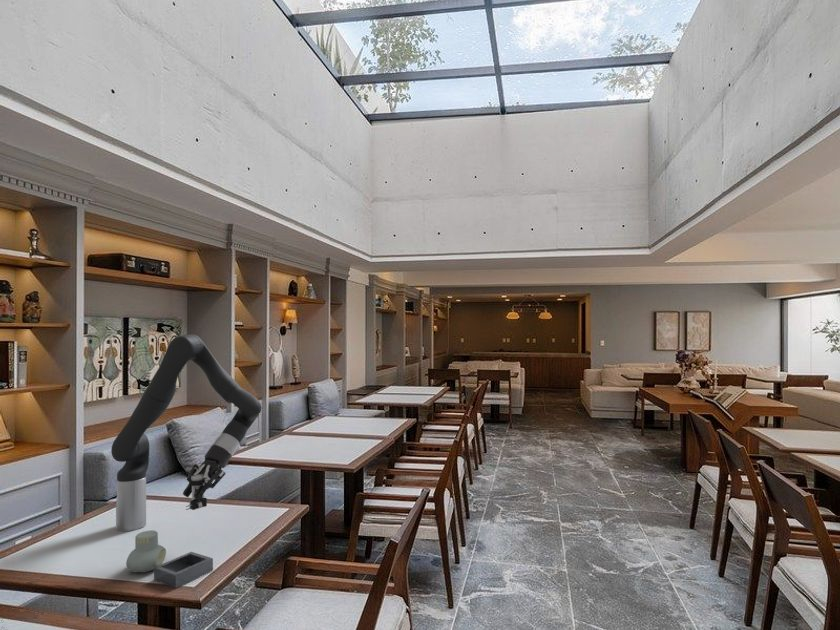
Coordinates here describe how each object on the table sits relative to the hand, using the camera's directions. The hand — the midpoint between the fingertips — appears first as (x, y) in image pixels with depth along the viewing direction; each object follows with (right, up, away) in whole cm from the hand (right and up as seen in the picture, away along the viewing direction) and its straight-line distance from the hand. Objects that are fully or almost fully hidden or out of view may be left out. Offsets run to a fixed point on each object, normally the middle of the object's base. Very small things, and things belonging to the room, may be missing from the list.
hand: (190, 496), depth 162 cm
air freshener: (-9, -18, -10) cm, 22 cm away
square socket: (+5, -17, -15) cm, 23 cm away
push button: (+1, -4, +1) cm, 5 cm away
